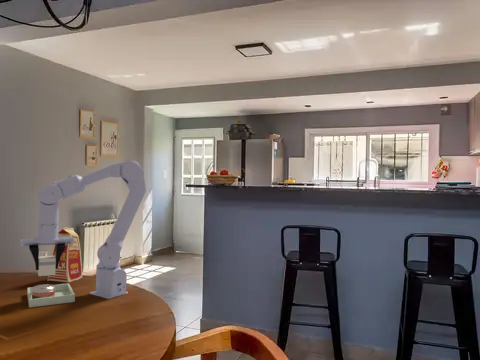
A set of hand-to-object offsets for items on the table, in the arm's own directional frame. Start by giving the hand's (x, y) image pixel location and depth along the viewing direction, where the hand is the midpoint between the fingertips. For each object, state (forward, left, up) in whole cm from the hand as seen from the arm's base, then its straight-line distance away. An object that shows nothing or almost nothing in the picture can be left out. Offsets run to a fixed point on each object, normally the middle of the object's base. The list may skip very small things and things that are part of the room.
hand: (46, 268), depth 117 cm
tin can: (-1, +2, -9) cm, 9 cm away
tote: (-1, -1, -9) cm, 9 cm away
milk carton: (+17, -18, -10) cm, 27 cm away
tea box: (0, 0, -2) cm, 2 cm away
